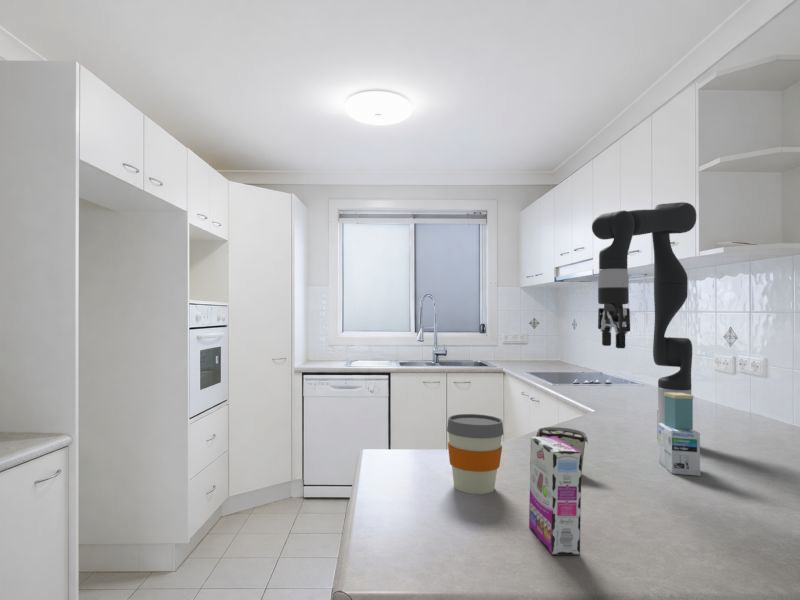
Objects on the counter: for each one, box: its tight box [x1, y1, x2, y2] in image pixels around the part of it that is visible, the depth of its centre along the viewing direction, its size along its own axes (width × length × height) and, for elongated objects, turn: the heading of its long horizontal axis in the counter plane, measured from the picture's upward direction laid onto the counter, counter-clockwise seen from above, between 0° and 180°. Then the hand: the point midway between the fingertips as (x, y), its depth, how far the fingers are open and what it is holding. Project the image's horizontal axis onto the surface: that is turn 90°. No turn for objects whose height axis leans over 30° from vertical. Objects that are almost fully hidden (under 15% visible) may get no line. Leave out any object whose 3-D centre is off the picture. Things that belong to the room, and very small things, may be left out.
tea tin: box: [664, 392, 694, 430], centre depth 127 cm, size 5×5×9 cm
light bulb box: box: [658, 423, 701, 477], centre depth 126 cm, size 11×7×11 cm, turn 169°
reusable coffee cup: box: [446, 413, 504, 495], centre depth 109 cm, size 13×13×15 cm
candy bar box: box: [528, 436, 583, 556], centre depth 83 cm, size 11×5×16 cm, turn 5°
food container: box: [535, 426, 589, 474], centre depth 124 cm, size 12×6×10 cm, turn 65°
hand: (613, 346), depth 131 cm, fingers open, 8 cm apart
